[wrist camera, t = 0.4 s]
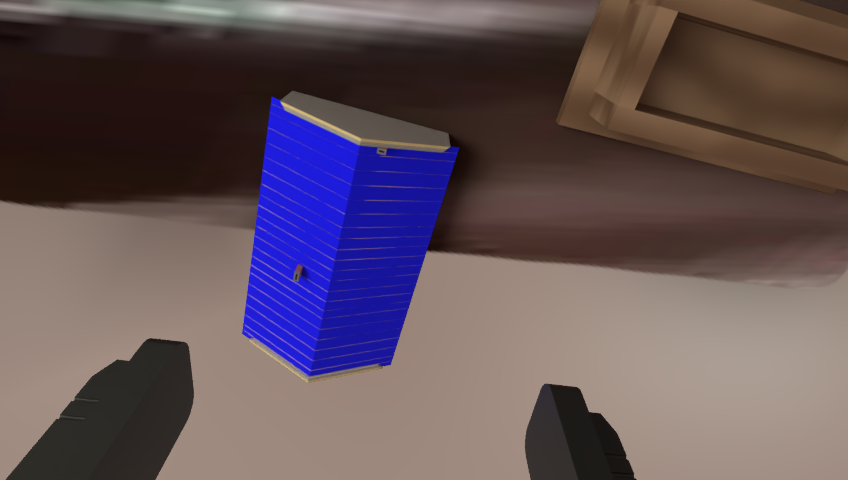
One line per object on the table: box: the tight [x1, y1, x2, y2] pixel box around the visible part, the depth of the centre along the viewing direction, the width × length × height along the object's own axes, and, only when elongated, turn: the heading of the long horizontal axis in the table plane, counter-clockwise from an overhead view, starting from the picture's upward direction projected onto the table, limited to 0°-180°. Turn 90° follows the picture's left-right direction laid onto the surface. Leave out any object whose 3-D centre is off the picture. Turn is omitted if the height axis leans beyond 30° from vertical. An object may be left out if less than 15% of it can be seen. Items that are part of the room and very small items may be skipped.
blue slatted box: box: [242, 91, 459, 383], centre depth 40 cm, size 22×14×7 cm, turn 165°
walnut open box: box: [556, 0, 848, 195], centre depth 34 cm, size 12×24×6 cm, turn 76°
